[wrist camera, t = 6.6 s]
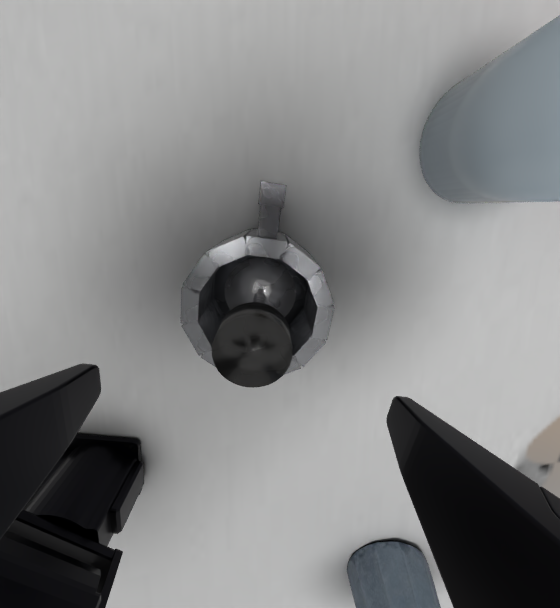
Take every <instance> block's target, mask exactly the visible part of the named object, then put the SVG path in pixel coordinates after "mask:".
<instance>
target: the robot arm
mask: <svg viewBox="0 0 560 608" xmlns="http://www.w3.org/2000/svg"><path fill="white" fill-rule="evenodd" d="M100 392H101V383H100V373H99V368H98V366H96V365H92V364H79V365H76V366H73V367H71V368H68V369H65V370H62V371H59V372H57V373H54V374H51V375H48V376H45V377H43V378H40V379H37V380H34V381H31V382H29V383H26V384H23V385H20V386H17V387H15V388H12V389H9V390H6V391H4V392H1V393H0V608H105V607H106V603H107V600H108V597H109V594H110V591H111V588H112V585H113V581H114V578H115V575H116V572H117V569H118V566H119V563H120V560H121V556H122V553H123V551H120V550H118V549H115V550H114V549H112V548H109V547H107V546H108V544H109V541H110V539H111V537H112V535H113V534H118V533H119V532H121V531H122V529H123V527H124V525H125V523H126V521H127V519H128V516H129V514H130V512H131V510H132V508H133V506H134V504H135V501H136V499H137V497H138V495H139V494H140V493H141V490H142V486H143V484H144V470H143V463H142V461H141V448H140V442H139V440H137V439H131V438H119V437H108V436H96V435H84V434H77V432H78V431H79V429H80V427H81V426H82V424H83V422H84V421H85V419H86V417H87V416H88V414H89V412H90V411H91V409H92V407H93V406H94V404H95V402H96V401H97V399H98V397H99V395H100ZM387 426H388V430H389V433H390V437H391V440H392V444H393V447H394V451H395V454H396V458H397V461H398V465H399V468H400V471H401V474H402V477H403V479H404V482H405V485H406V487H407V490H408V492H409V495H410V498H411V500H412V503H413V505H414V508H415V510H416V513H417V515H418V518H419V520H420V523H421V526H422V528H423V531H424V533H425V536H426V538H427V541H428V543H429V546H430V549H431V551H432V554H433V556H434V559H435V561H436V564H437V566H438V569H439V571H440V574H441V577H442V579H443V582H444V584H445V587H446V589H447V592H448V594H449V597H450V600H451V602H452V605H453V607H454V608H560V498H558V497H557V496H555V495H554V494H552V493H550V492H549V491H548V490H546V489H545V488H543V487H539V485H538V484H537V483H536V482H534V481H533V480H531V479H530V478H528V477H527V476H525V475H524V474H522V473H521V472H519V471H518V470H516V469H515V468H513V467H512V466H510V465H509V464H507V463H506V462H504V461H503V460H501V459H500V458H498V457H497V456H495V455H494V454H492V453H491V452H489V451H488V450H486V449H485V448H483V447H482V446H480V445H479V444H477V443H476V442H474V441H473V440H471V439H470V438H468V437H467V436H465V435H464V434H462V433H461V432H459V431H458V430H457V429H455V428H454V427H452V426H451V425H449V424H448V423H446V422H445V421H443V420H442V419H440V418H439V417H437V416H436V415H434V414H433V413H431V412H430V411H428V410H427V409H425V408H424V407H422V406H421V405H419V404H418V403H416V402H415V401H413V400H412V399H410V398H408V397H401V396H396V397H394V398H393V400H392V403H391V406H390V409H389V412H388V415H387Z"/></svg>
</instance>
